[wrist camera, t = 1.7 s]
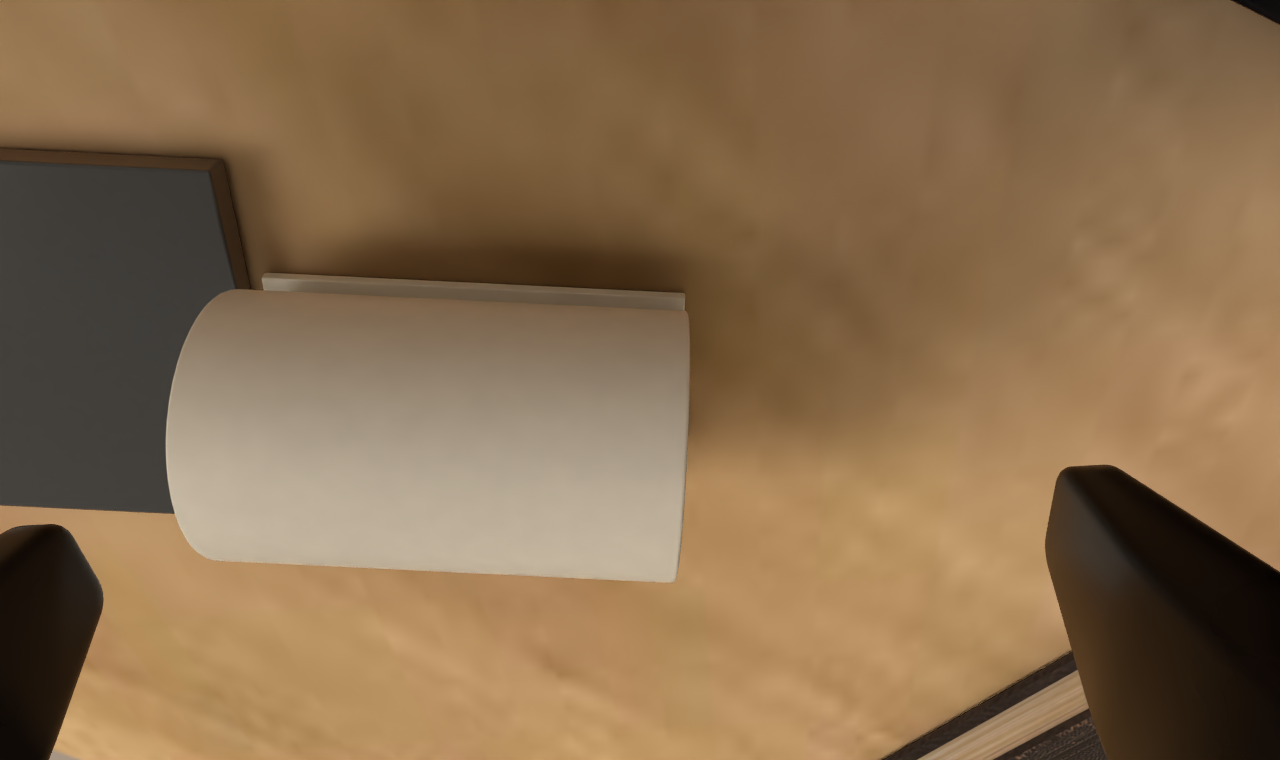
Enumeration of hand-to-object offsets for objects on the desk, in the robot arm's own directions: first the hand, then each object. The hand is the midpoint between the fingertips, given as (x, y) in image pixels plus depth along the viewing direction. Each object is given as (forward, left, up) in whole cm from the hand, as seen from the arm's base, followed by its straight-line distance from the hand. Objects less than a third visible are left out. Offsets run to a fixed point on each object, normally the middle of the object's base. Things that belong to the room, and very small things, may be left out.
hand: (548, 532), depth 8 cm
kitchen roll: (+1, +8, -10) cm, 13 cm away
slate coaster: (+10, +11, -13) cm, 20 cm away
